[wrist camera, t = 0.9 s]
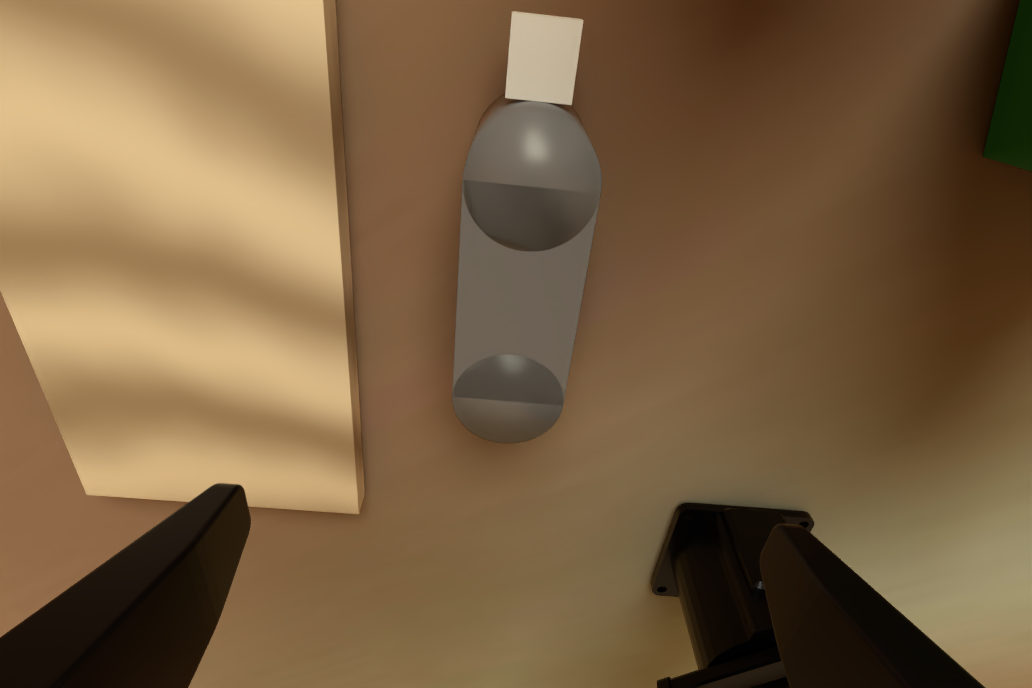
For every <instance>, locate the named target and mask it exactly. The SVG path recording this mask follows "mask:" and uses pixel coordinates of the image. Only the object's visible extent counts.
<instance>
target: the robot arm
mask: <svg viewBox="0 0 1032 688" xmlns="http://www.w3.org/2000/svg"><path fill="white" fill-rule="evenodd" d="M687 513H689V514H687ZM250 525H251V518H250V513H249V508H248V504H247V499H246V494H245V491H244V488H243V487H242V486H241V485H239V484H228V483H217V484H214V485H212V486H211V487H209V488H208V489H206V490H205V491H204V492H202V493H201V494H199V495H198V496H197V497H195V498H194V499H192V500H191V501H190V502H188V503H187V504H185V505H184V506H183V507H181V508H180V509H179V510H177V511H176V512H174V513H173V514H172V515H170V516H169V517H167V518H166V519H165V520H163V521H162V522H160V523H159V524H158V525H156V526H155V527H153V528H152V529H151V530H149V531H148V532H146V533H145V534H144V535H142V536H141V537H140V538H138V539H137V540H135V541H134V542H133V543H131V544H130V545H128V546H127V547H126V548H124V549H123V550H121V551H120V552H119V553H117V554H116V555H114V556H113V557H112V558H110V559H109V560H107V561H106V562H105V563H103V564H102V565H101V566H99V567H98V568H96V569H95V570H94V571H92V572H91V573H89V574H88V575H87V576H85V577H84V578H82V579H81V580H80V581H78V582H77V583H75V584H74V585H73V586H71V587H70V588H69V589H67V590H66V591H64V592H63V593H62V594H60V595H59V596H57V597H56V598H55V599H53V600H52V601H50V602H49V603H48V604H46V605H45V606H43V607H42V608H41V609H39V610H38V611H36V612H35V613H34V614H32V615H31V616H30V617H28V618H27V619H25V620H24V621H23V622H21V623H20V624H18V625H17V626H16V627H14V628H13V629H11V630H10V631H9V632H7V633H6V634H4V635H3V636H2V637H0V688H188V687H189V685H190V683H191V680H192V678H193V676H194V674H195V672H196V670H197V668H198V665H199V663H200V661H201V659H202V657H203V655H204V652H205V650H206V648H207V646H208V644H209V642H210V640H211V637H212V635H213V633H214V631H215V628H216V626H217V624H218V621H219V618H220V616H221V613H222V610H223V608H224V605H225V602H226V599H227V596H228V593H229V590H230V587H231V584H232V581H233V578H234V575H235V573H236V570H237V567H238V564H239V561H240V558H241V555H242V552H243V549H244V546H245V543H246V540H247V537H248V534H249V531H250ZM813 526H814V521H813V519H812V517H811V516H810V514H809V513H808V512H804V511H792V510H779V509H766V508H752V507H739V506H726V505H712V504H699V503H684V504H681V505H680V506H679V507H678V508H677V510H676V513H675V516H674V518H673V521H672V524H671V527H670V530H669V532H668V535H667V538H666V541H665V544H664V547H663V549H662V552H661V555H660V558H659V561H658V564H657V566H656V569H655V572H654V575H653V578H652V581H651V587H652V592H653V593H654V594H656V595H660V596H674V597H679V598H680V602H681V606H682V609H683V613H684V617H685V621H686V625H687V628H688V632H689V636H690V640H691V643H692V647H693V651H694V655H695V659H696V662H697V666H698V670H697V671H694V672H690V673H687V674H684V675H681V676H678V677H675V678H670V677H667V678H663V679H660V680H658V681H657V688H985V687H984V686H983V685H982V684H981V683H979V682H978V681H977V680H976V679H975V678H974V677H973V676H972V675H970V674H969V673H968V672H967V671H966V670H965V669H964V668H963V667H961V666H960V665H959V664H958V663H957V662H956V661H955V660H953V659H952V658H951V657H950V656H949V655H948V654H947V653H946V652H944V651H943V650H942V649H941V648H940V647H939V646H938V645H937V644H935V643H934V642H933V641H932V640H931V639H930V638H929V637H928V636H926V635H925V634H924V633H923V632H922V631H921V630H920V629H918V628H917V627H916V626H915V625H914V624H913V623H912V622H911V621H909V620H908V619H907V618H906V617H905V616H904V615H903V614H902V613H900V612H899V611H898V610H897V609H896V608H895V607H894V606H892V605H891V604H890V603H889V602H888V601H887V600H886V599H885V598H883V597H882V596H881V595H880V594H879V593H878V592H877V591H876V590H874V589H873V588H872V587H871V586H870V585H869V584H868V583H867V582H865V581H864V580H863V579H862V578H861V577H860V576H859V575H857V574H856V573H855V572H854V571H853V570H852V569H851V568H850V567H848V566H847V565H846V564H845V563H844V562H843V561H842V560H841V559H839V558H838V557H837V556H836V555H835V554H834V553H833V552H832V551H830V550H829V549H828V548H827V547H826V546H825V545H824V544H822V543H821V542H820V541H819V540H818V539H817V538H816V537H815V536H813V535H812V534H811V533H810V531H811V530H812V528H813Z"/></svg>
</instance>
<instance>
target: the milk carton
mask: <svg viewBox="0 0 1032 688" xmlns="http://www.w3.org/2000/svg"><path fill="white" fill-rule="evenodd" d="M983 157H985V158H989V159H992V160H996V161H999V162H1002V163H1006V164H1009V165H1012V166H1015V167H1019V168H1022V169H1025V170H1028V171H1032V0H1020V1H1019V5H1018V10H1017V14H1016V18H1015V22H1014V26H1013V31H1012V35H1011V39H1010V43H1009V48H1008V52H1007V56H1006V60H1005V65H1004V69H1003V73H1002V77H1001V82H1000V86H999V90H998V94H997V98H996V103H995V107H994V111H993V115H992V120H991V124H990V128H989V132H988V137H987V141H986V145H985V149H984V153H983Z"/></svg>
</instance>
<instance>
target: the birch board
mask: <svg viewBox="0 0 1032 688" xmlns="http://www.w3.org/2000/svg"><path fill="white" fill-rule="evenodd" d="M0 291H1V293H2V295H3V298H4V300H5V302H6V305H7V307H8V309H9V312H10V314H11V317H12V319H13V321H14V324H15V326H16V328H17V331H18V333H19V335H20V338H21V340H22V343H23V345H24V347H25V350H26V352H27V354H28V357H29V359H30V361H31V364H32V366H33V369H34V371H35V373H36V376H37V378H38V380H39V383H40V385H41V387H42V390H43V392H44V395H45V397H46V399H47V402H48V404H49V406H50V409H51V411H52V414H53V416H54V418H55V421H56V423H57V425H58V428H59V430H60V432H61V435H62V437H63V440H64V442H65V444H66V447H67V449H68V451H69V454H70V456H71V458H72V461H73V463H74V466H75V468H76V470H77V473H78V475H79V477H80V480H81V482H82V484H83V487H84V489H85V492H86V494H87V495H98V496H112V497H126V498H140V499H154V500H168V501H182V502H190V501H191V500H192V499H194V498H195V497H197V496H198V495H199V494H201V493H202V492H204V491H205V490H206V489H208V488H209V487H211V486H212V485H214V484H217V483H228V484H239V485H241V486H242V487H243V488H244V491H245V494H246V499H247V504H248V506H251V507H265V508H279V509H293V510H307V511H321V512H335V513H348V514H359V512H360V509H361V506H362V503H363V499H364V496H365V486H364V469H363V452H362V436H361V419H360V402H359V385H358V369H357V352H356V335H355V318H354V302H353V285H352V268H351V252H350V235H349V218H348V201H347V185H346V168H345V151H344V134H343V118H342V101H341V84H340V68H339V51H338V34H337V17H336V1H335V0H0Z"/></svg>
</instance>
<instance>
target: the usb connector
mask: <svg viewBox="0 0 1032 688" xmlns="http://www.w3.org/2000/svg"><path fill="white" fill-rule="evenodd" d="M582 27H583V20H582V19H578V18H569V17H560V16H551V15H542V14H534V13H525V12H516V11H512V19H511V31H510V43H509V56H508V68H507V80H506V93H505V94H504V95H502V96H501V97H499V98H498V99H497V100H495V101H494V102H493V103H492V104H491V105H490V106H489V107H488V108H487V110H486V111H485V112H484V114H483V116H482V117H481V119H480V121H479V124H478V126H477V129H476V132H475V136H474V139H473V142H472V145H471V148H470V151H469V154H468V157H467V160H466V164H465V168H464V173H463V184H462V205H461V226H460V246H459V267H458V288H457V309H456V330H455V351H454V371H453V392H452V403H453V408H454V411H455V413H456V415H457V417H458V419H459V420H460V422H461V423H462V424H463V425H464V426H465V427H466V428H467V429H468V430H469V431H471V432H472V433H473V434H475V435H477V436H479V437H481V438H483V439H486V440H489V441H493V442H497V443H520V442H525V441H528V440H531V439H534V438H536V437H538V436H540V435H542V434H543V433H545V432H546V431H548V430H549V429H550V428H551V427H552V426H553V425H554V424H555V422H556V421H557V419H558V418H559V416H560V414H561V411H562V408H563V403H564V397H565V392H566V386H567V380H568V375H569V369H570V364H571V358H572V352H573V347H574V341H575V336H576V330H577V324H578V319H579V313H580V307H581V302H582V296H583V291H584V285H585V279H586V274H587V268H588V262H589V257H590V251H591V246H592V240H593V234H594V229H595V223H596V218H597V212H598V206H599V201H600V195H601V187H602V175H601V168H600V164H599V160H598V157H597V155H596V153H595V150H594V148H593V146H592V144H591V142H590V140H589V138H588V136H587V134H586V132H585V130H584V128H583V126H582V123H581V121H580V119H579V117H578V116H577V114H576V112H575V111H574V109H573V108H572V107H571V106H570V105H572V98H573V91H574V84H575V77H576V70H577V63H578V55H579V48H580V41H581V34H582Z"/></svg>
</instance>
